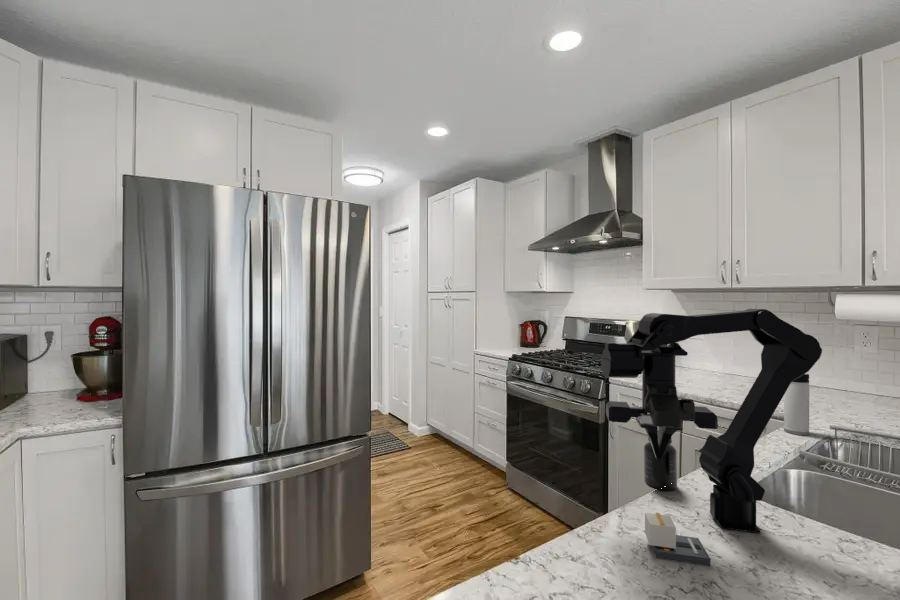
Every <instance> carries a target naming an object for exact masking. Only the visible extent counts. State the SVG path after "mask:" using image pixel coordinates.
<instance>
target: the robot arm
mask: <svg viewBox="0 0 900 600" xmlns="http://www.w3.org/2000/svg"><path fill="white" fill-rule="evenodd" d="M747 331H749V332H750V334H751V335H752V336H753V338H754V339H755V341H756V342H758V343H759V344H760V345H761V346H762V347H763V348H762V350H761V354H760V359H761V360H760V361H761V364H760V365H761V370H760V372H759V373H758V375H757V377H756V379H755V380H754V382H753V384H752V386H751V387H750V389H749V391H748V393H747V394H746V396H745V398H744V399H743V401H742V403H741V405H740V406H739V408H738V410H737V412H736V414H735V415H734V417H733V418H732V420H731V422H730V423H729V426H728V427H727V429H726V431H725V432H723V434H721V435H719V436H717V437H716V436H714V435H712V434H709V435H708V436H707V437H706V441H705V443H704V445H703V446H702V447H701V448H700V449H699V450H698V452H699V453H700V454H699V455H700V456H699V457H698V458H699V459H698V463H699V464H700V469H702V470H703V472H704V473H705V474H707V477H708V480H709V481H710V482H712V483H714V484H713V485H712V492H710V494H709V499H710V500H709V514H710V515H711V516H712V517H713V518H714V519H713V520H715V521H716V523H717V524H718V525H719V527H720V528H722V529H725V530H726V529H727V530H734V531H735V530H736V531H742V532H743V531H744V532H749V533H750V532H751V533H761V529H760V527H759V525H757V501H758V502H761V501H763V497H764V494H765V493H766V491H765V489H764V487H763V486H761V484H760V483H758V482H757V480H755V479H754V478H753V477H752V473H753V471H754V467H755V446H756V444H757V442H758V441H759V440H760V438H761V435H762V434H763V432H764V431H765V429H766V427H767V426H768V424H769V422H770V420H771V419H772V417H773V415H774V414H775V411H776V409H777V408H778V406H779V405H780V402H781V401H782V399H784V394H785V392H786V391H787V389H788V387H789V385H790V384H791V383H792V381H794V380H795V379H797V378H799V377H800V376H802V375H804V374H808V373H809V372H810V371H811V369H812V368H813V367H814V366H815V364H816V363H817V362H818V360H820V358H821V357H822V353H823V349H822V347H821V345H820V342H819V341H818V339H817V338H816V337H815V336H813V335H810V334H808V333H805V332H803V331H802V330H801V329H800V328H798V327H796V326H794V325H792V324H791V323H789V322H787V321H784V320H783V319H781V318H779V317H778V316H777V315H776V314H775V313H773V312H772V311H770V310H768V309H765V308H746V309H745V310H736V311H735V310H734V311H724V312H713V313H703V314H702V313H701V314H693V315H684V314H683V315H682V314H671V313H670V314H669V313H658V312H657V313H655V312H651V313H646V314H644V315H643V316H642V317H641V319H640V320H639V322H638V328H637V329H636V330H635V332H634V333H633V335H632V336H631V337H630V338H629V340H628V341H627V342H626V343H617V342H611V341H609V342H607V341H606V342H605V343H604V349H603V350H602V354H601V355H602V356H600V367H601V372H602V374H603V377H604V378H605V379H607V378H610V379H612V378H613V379H616V378H617V379H618V378H620V379H622V378H623V379H636V378H638V376H639V375H642V381H641V384H642V386H641V387H642V388H641V389H642V391H641V393H642V395H641V396H642V397H641V403H642V405H641V407H635V406H632V407H631V406H630V405H629V404H628V402H627V401H613V400H612V401H611V400H609V401H607V402H606V404H605V415H606V418H607V420H608V422H611V423H612V422H613V423H624V424H626V423H628V422H629V421H630V420H632V419H631V418H635V422H636V423H637V424H638V426H639V428H641V429H645V432H646V434H647V438H648V437H649V440H650V443H651V445H652V448H653V451H654V454H655V457H656V459H662V456H663V454H664V451H665V449H666V447H667V444H668V442H669V440H670V438H671V439H672V436H673V435H674V434H675V433H676V432H682V431H683V429H684V428H683V422H693V424H695V425H696V426H697V427H698V428H699V429H707V430H708V429H709V430H719V429H718V425H719V424H718V423H719V422H718V421H719V420H718V419H719V418H718V416H717V415H716V414H715V412H713V411H712V410H710V409H709V408H708V407H706V406H696V405H695V402H694V400H693V399H689V398H688V399H687V398H681V399H679V398H678V394H677V393H678V392H677V391H678V390H677V386H676V357H677V356H681V357H682V356H683V357H684V356H688V353H689V352H687V351H686V350H685V349H684V348H682V346H681V345H680V344H679V343H678V342H683V341H686V340H688V339H691V338H693V337H696V336H701V335H713V334H725V333H734V332H735V333H737V332H747ZM657 431H658V436H657ZM649 440H648V441H649Z"/></svg>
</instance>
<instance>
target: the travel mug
mask: <svg viewBox="0 0 900 600" xmlns="http://www.w3.org/2000/svg"><path fill="white" fill-rule="evenodd" d="M783 431H784V432H786V433H788V434H791V435H794V436H808V435H810V374H809V373H805V374H804V375H802V376H800V377H799V378H797V379H795V380H794V381H792V383H791V384H790V385H789V387H788V389H787V391H786V392H785V394H784V396H783Z"/></svg>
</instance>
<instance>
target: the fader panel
mask: <svg viewBox="0 0 900 600" xmlns="http://www.w3.org/2000/svg"><path fill="white" fill-rule="evenodd" d="M650 546H651V549H652V551H653V555H654V557H655V559H660V560H667V561H673V562H679V563H680V562H681V563H686V564H687V563H688V564H692V565H700V566H707V567H711V557H710V555H709V554H708V552H707V550H706V549H705V546H704V545H703V544H702V542H701V540H700V538H699V537H695V536H693V537H692V536H685V535H679V534H676V549H675V548H668V547H661V546H654V545H650Z"/></svg>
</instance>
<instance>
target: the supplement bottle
mask: <svg viewBox="0 0 900 600" xmlns="http://www.w3.org/2000/svg"><path fill="white" fill-rule="evenodd" d="M657 436H658V430H657ZM672 443H673V441H672V437H671V438H670V440H669V442H668V444H667V447H666V449H665V451H664V454H663V456H662V459H656V457H655V454H654V451H653V448H652V445H651V443H650V440H649V437H648V436H647V442H646V443H645V444H644V446H643V479H644V483H645V485H647V487H648V488H650V489H651V488H652V489H654V490H658V489H660V490H658V491H662V492H671V491H674V490H676V489H677V487H678V456H677V454H678V452H677V449H676V447H674V446H673V445H672ZM671 483H672V484H671ZM664 486H666V487H664ZM661 488H662V489H661Z"/></svg>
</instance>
